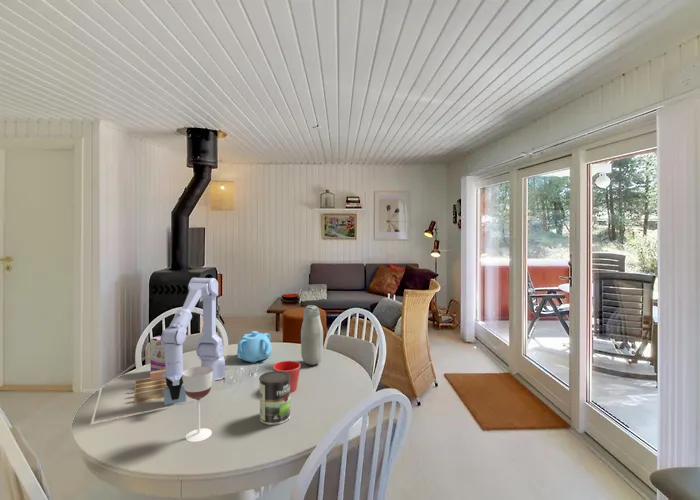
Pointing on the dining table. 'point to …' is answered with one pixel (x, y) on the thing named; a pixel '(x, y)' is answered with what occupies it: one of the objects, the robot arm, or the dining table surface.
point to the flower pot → (290, 368)
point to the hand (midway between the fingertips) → (175, 397)
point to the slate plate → (169, 400)
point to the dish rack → (149, 390)
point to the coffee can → (274, 397)
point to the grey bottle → (311, 336)
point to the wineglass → (198, 396)
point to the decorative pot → (254, 347)
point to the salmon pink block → (157, 375)
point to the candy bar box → (157, 354)
